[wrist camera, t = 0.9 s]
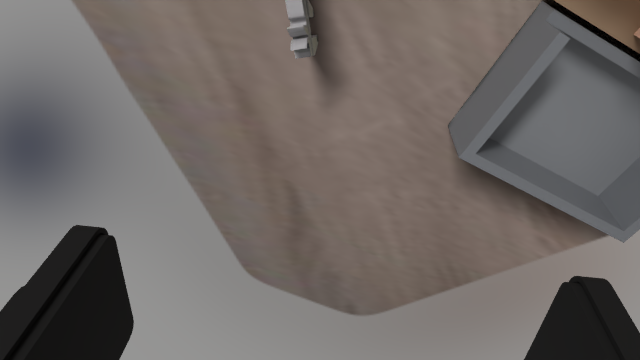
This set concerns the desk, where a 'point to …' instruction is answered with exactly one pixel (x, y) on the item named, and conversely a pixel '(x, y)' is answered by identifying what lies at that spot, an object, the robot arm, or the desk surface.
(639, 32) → the tile terracotta
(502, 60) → the box
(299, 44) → the caliper
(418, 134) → the desk surface
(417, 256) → the desk surface
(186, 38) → the desk surface
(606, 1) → the plate
